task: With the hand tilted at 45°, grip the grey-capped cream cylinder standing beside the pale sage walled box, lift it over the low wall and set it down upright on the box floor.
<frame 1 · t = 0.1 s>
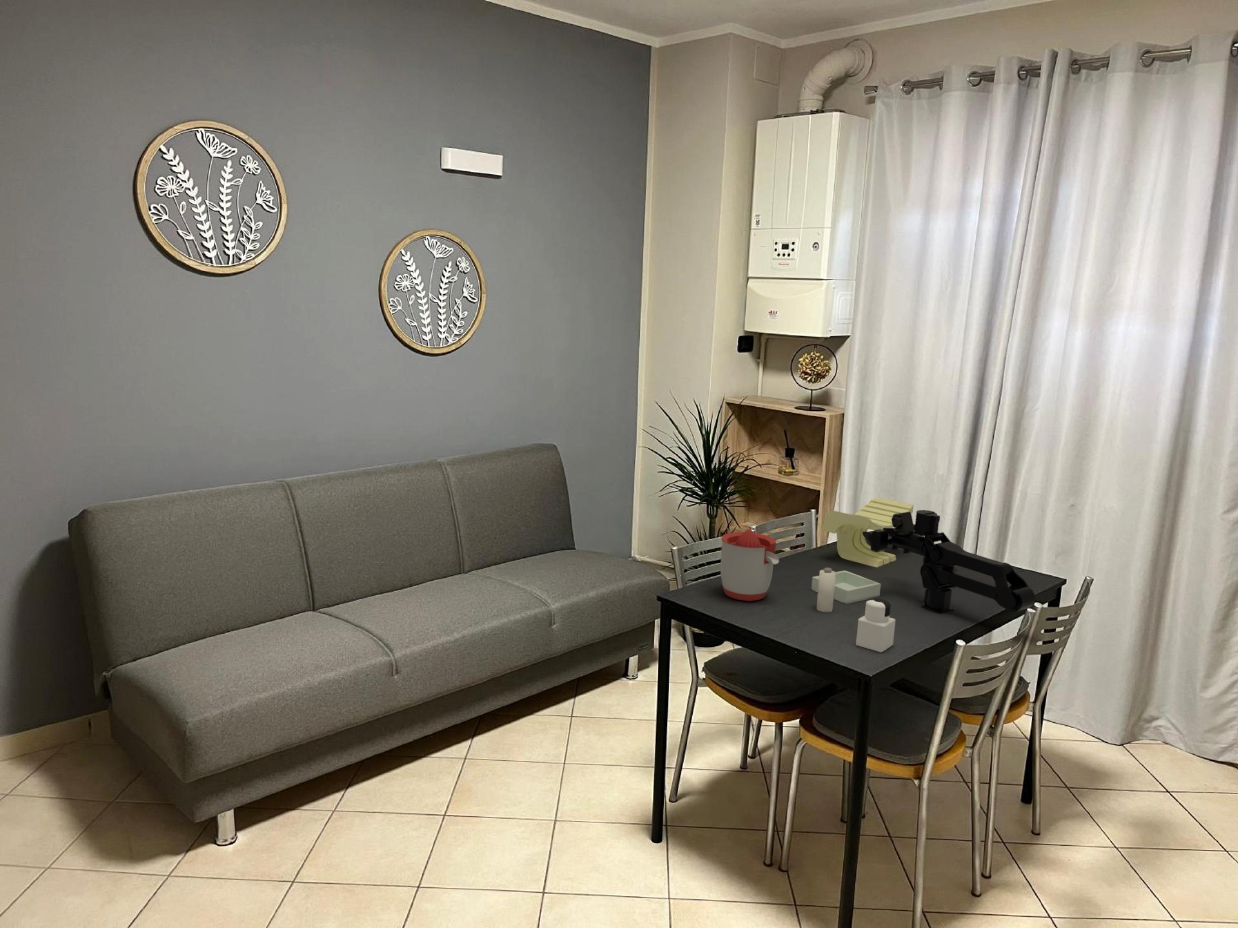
hand: (873, 531, 283), 17 cm above the table, tool horizontal, fingers open, 9 cm apart
slatted curved stool: (865, 558, 313), on the table
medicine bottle: (874, 645, 237), on the table
walled box: (845, 593, 276), on the table
citrus juicer: (747, 596, 270), on the table
grey-capped cream cylinder: (824, 609, 261), on the table
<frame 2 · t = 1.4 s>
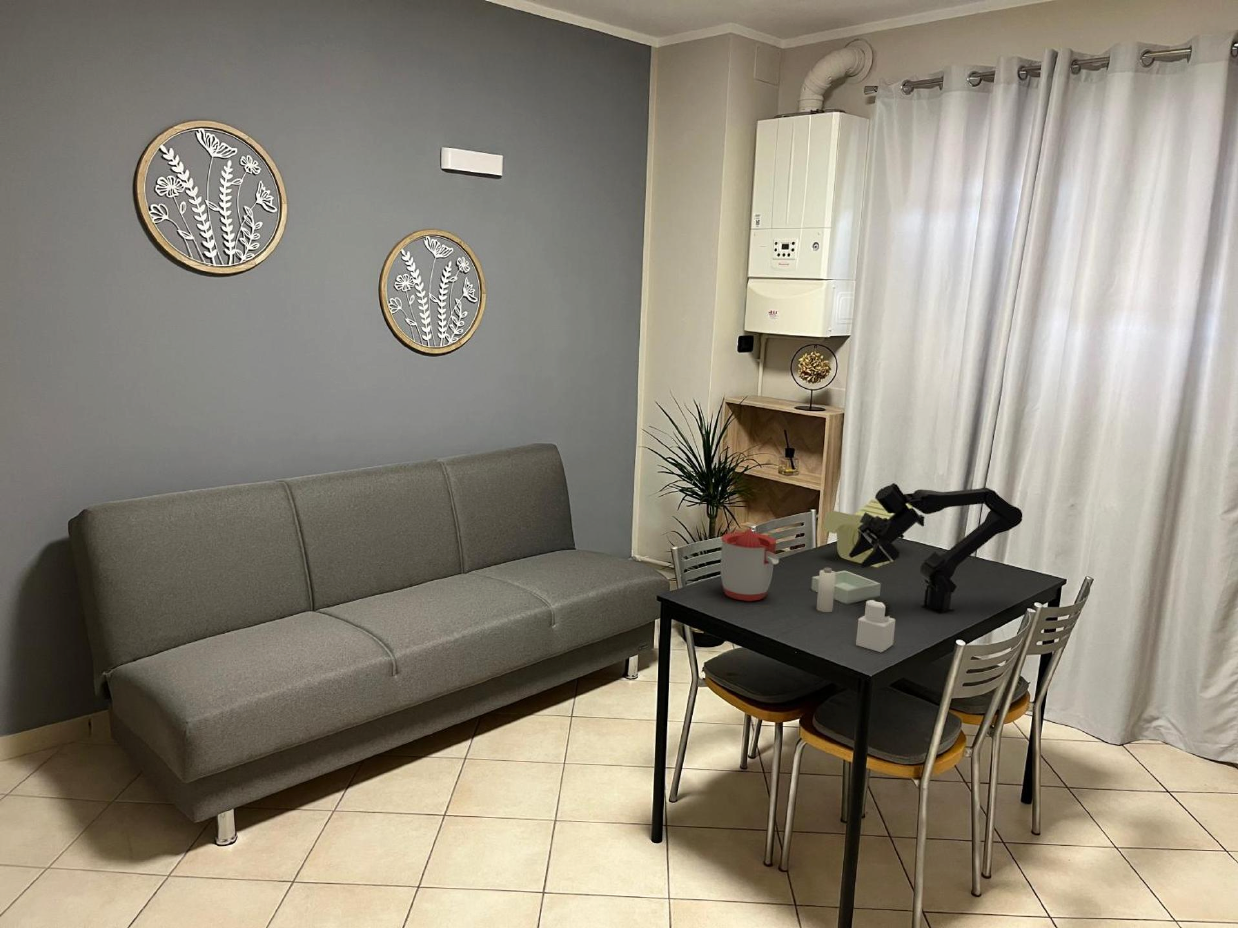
hand: (855, 561, 260), 14 cm above the table, tool tilted 45°, fingers open, 9 cm apart
nothing on the table moved.
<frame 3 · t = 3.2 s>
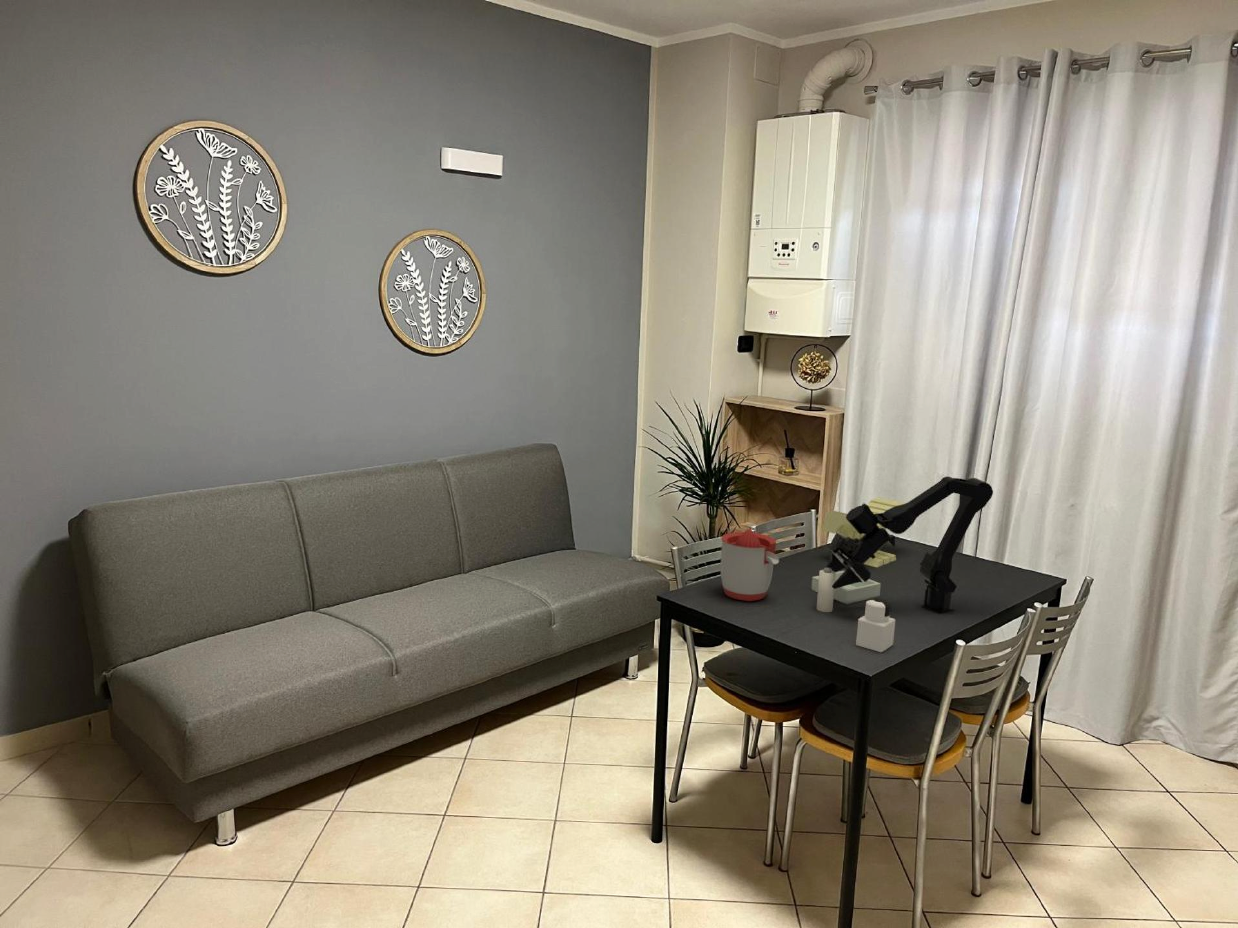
hand: (827, 582, 260), 8 cm above the table, tool tilted 45°, fingers open, 9 cm apart
nothing on the table moved.
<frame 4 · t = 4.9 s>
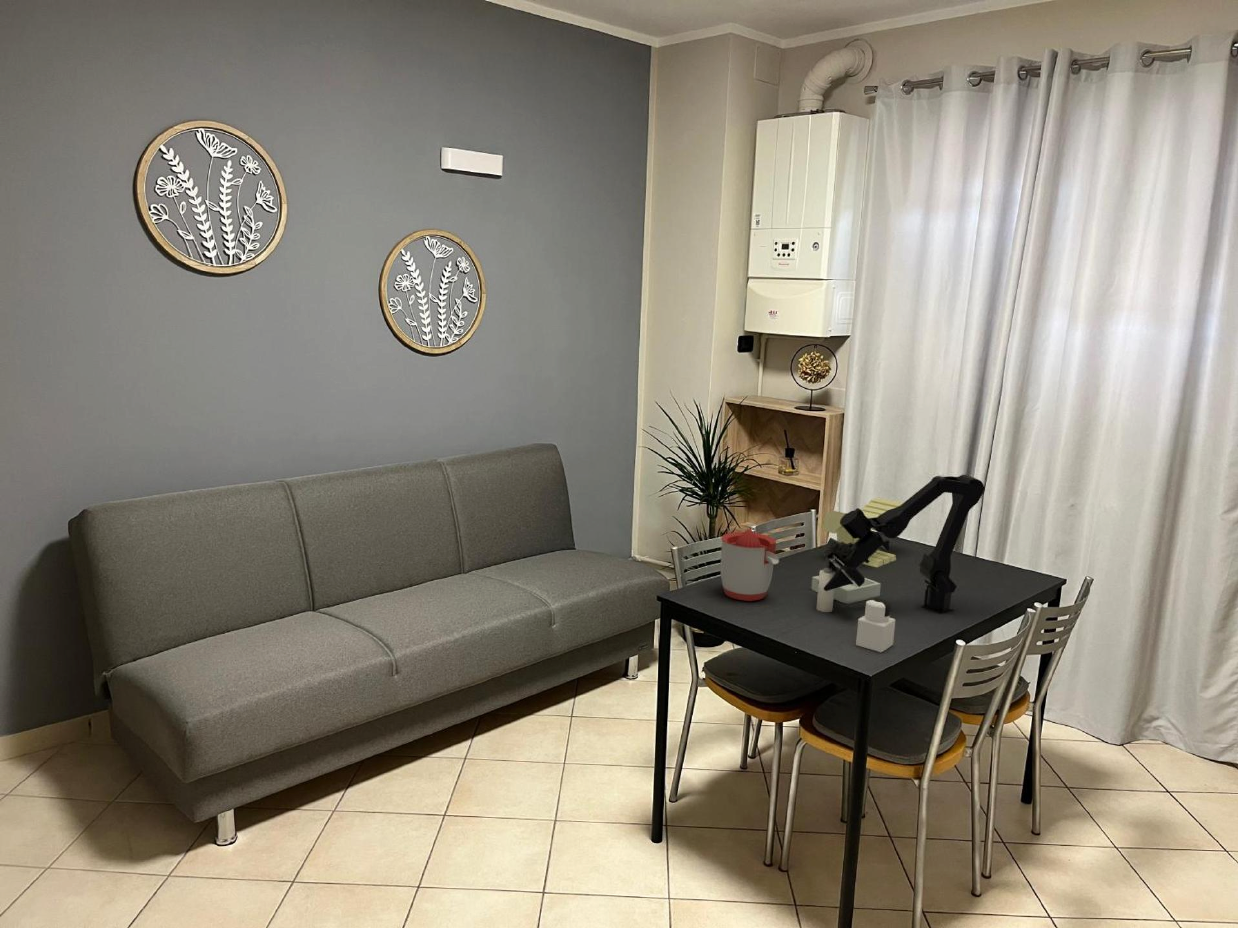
hand: (821, 587, 260), 7 cm above the table, tool tilted 45°, fingers closed on grey-capped cream cylinder, 4 cm apart
grey-capped cream cylinder: (824, 609, 261), on the table, touching gripper
everything else where it was.
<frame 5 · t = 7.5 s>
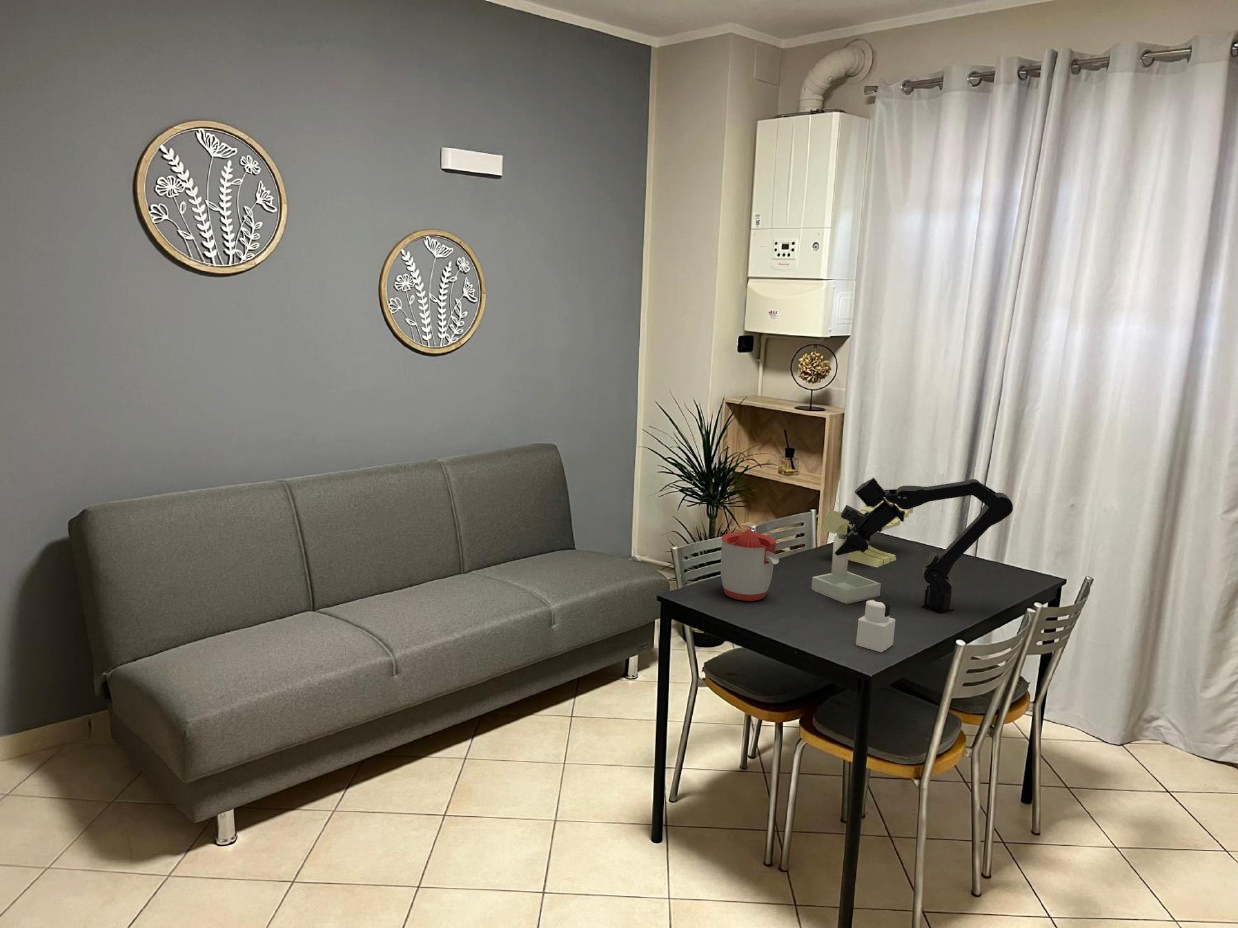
hand: (835, 552, 270), 13 cm above the table, tool tilted 45°, fingers closed on grey-capped cream cylinder, 4 cm apart
grey-capped cream cylinder: (839, 574, 271), point 7 cm above the table, touching gripper
everything else where it was.
when the fingers open (8 cm above the table, at t = 10.1 s): grey-capped cream cylinder stays where it is, resting on walled box.
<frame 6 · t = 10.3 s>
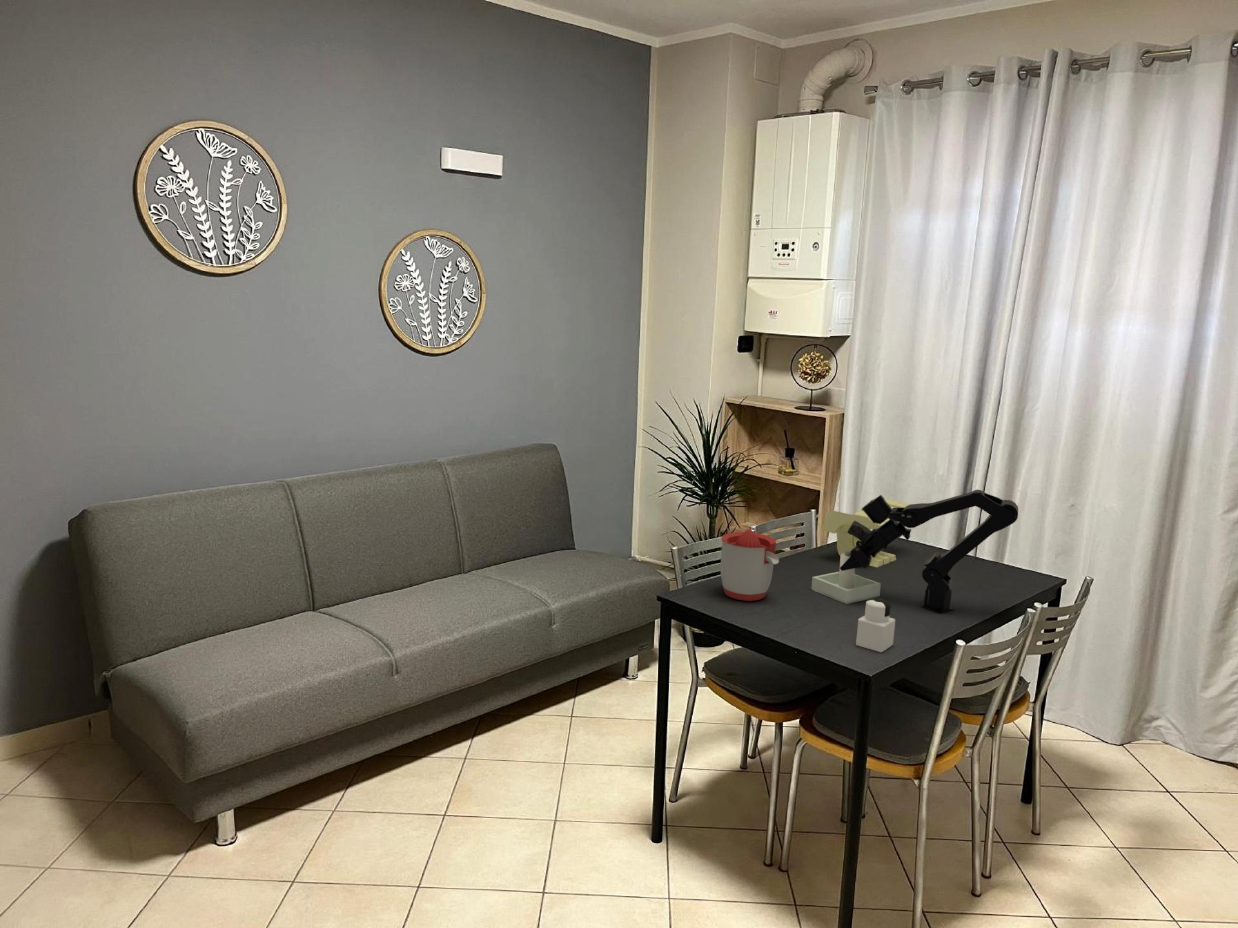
hand: (842, 566, 275), 8 cm above the table, tool tilted 45°, fingers open, 6 cm apart
grey-capped cream cylinder: (845, 591, 276), point 1 cm above the table, touching walled box
everything else where it was.
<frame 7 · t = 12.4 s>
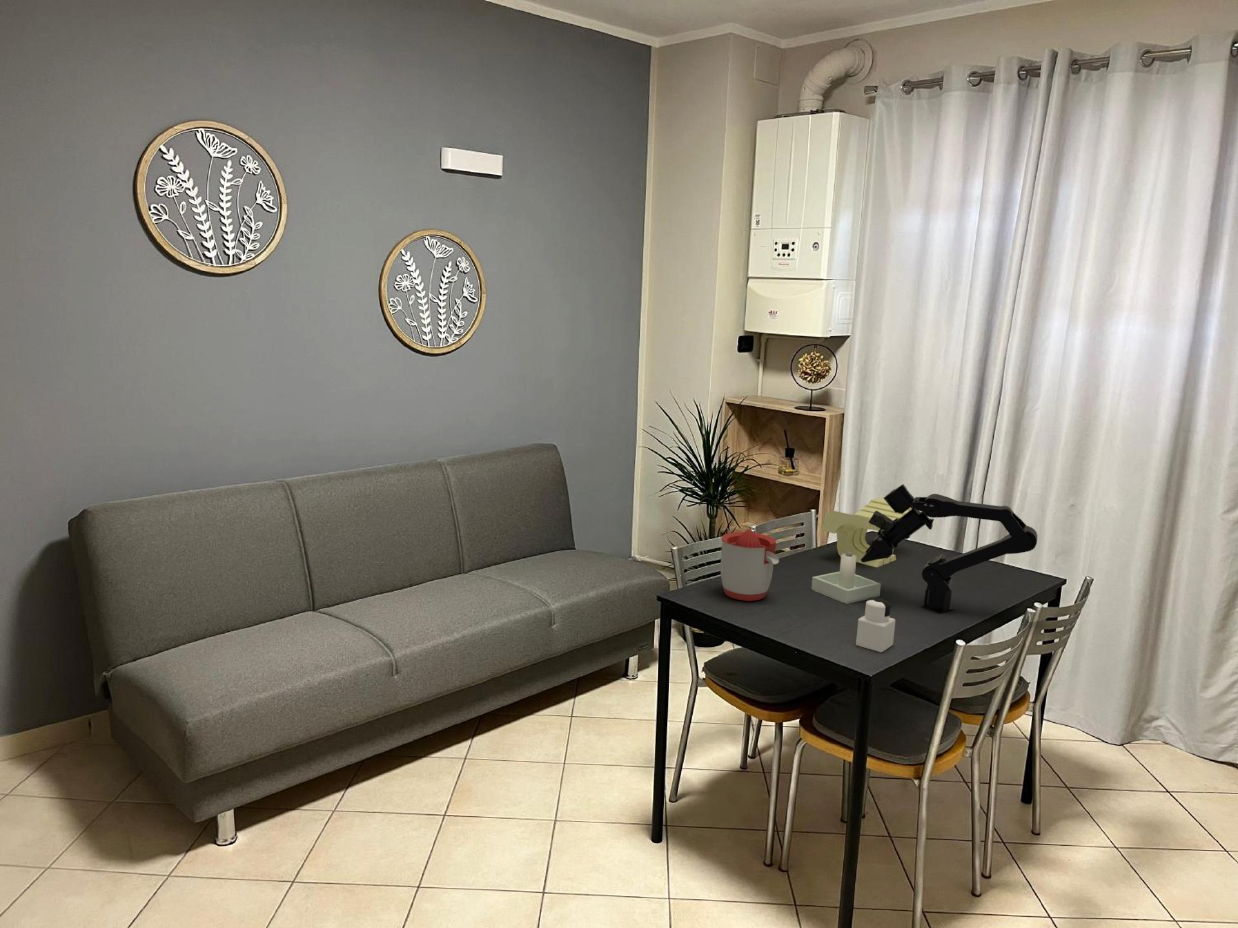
hand: (864, 557, 272), 12 cm above the table, tool tilted 45°, fingers open, 9 cm apart
nothing on the table moved.
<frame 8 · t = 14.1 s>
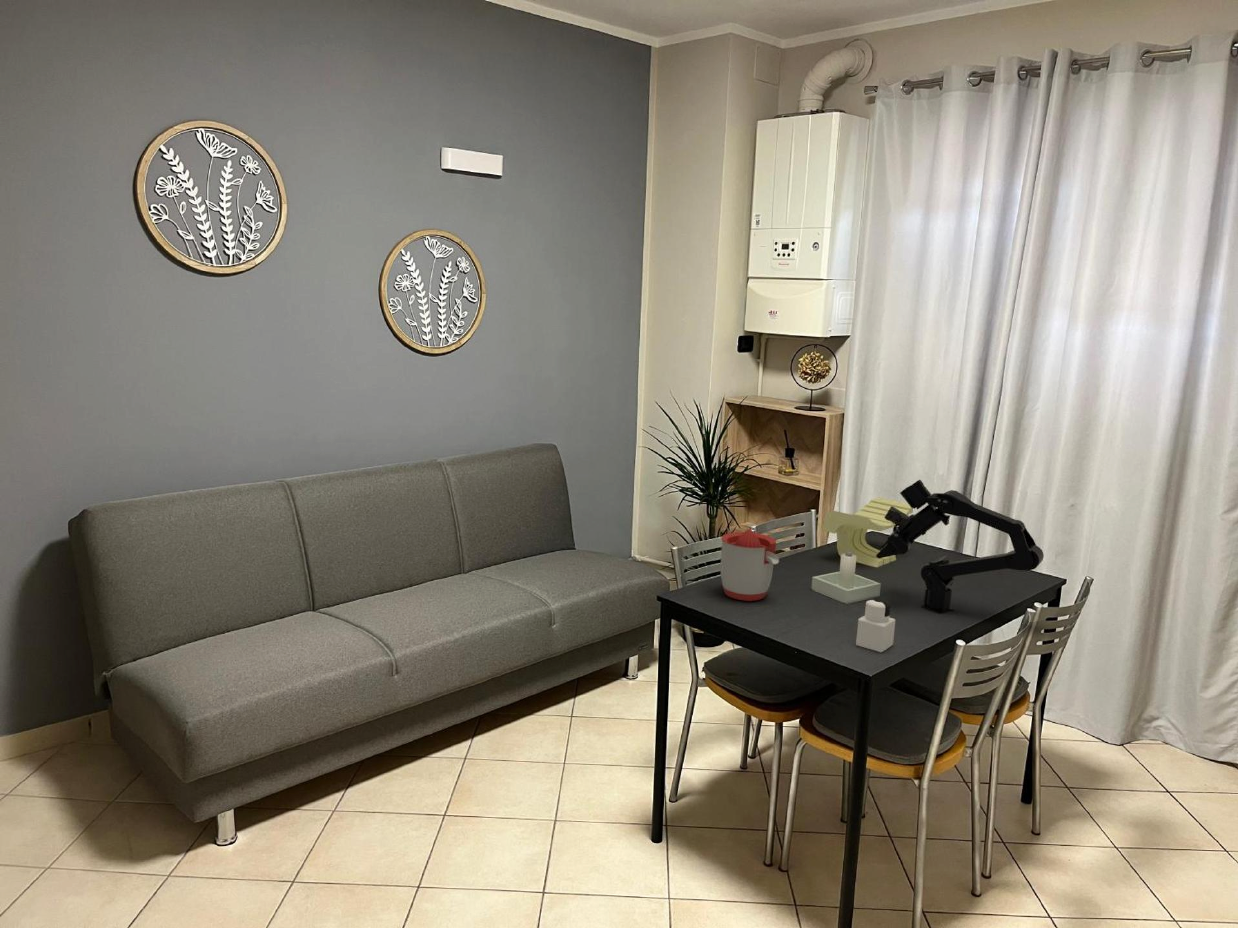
hand: (879, 552, 270), 14 cm above the table, tool tilted 45°, fingers open, 9 cm apart
nothing on the table moved.
at the end: grey-capped cream cylinder inside the target area on the walled box (0.1 cm from its centre), point 0.6 cm above the walled box's base; grey-capped cream cylinder tilted 0°; the gripper is holding nothing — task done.
